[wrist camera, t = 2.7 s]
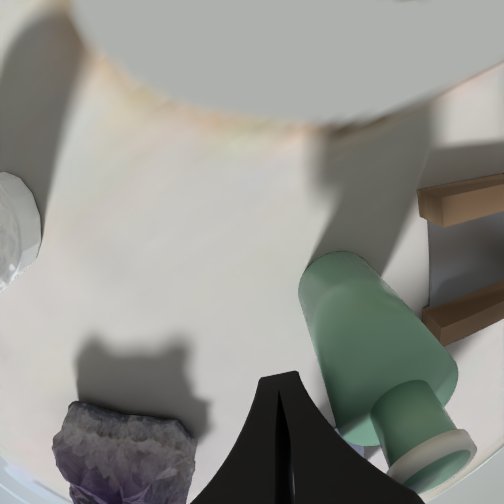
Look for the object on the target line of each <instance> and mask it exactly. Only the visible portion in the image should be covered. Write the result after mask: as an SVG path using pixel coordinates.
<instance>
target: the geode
mask: <svg viewBox="0 0 504 504" xmlns="http://www.w3.org/2000/svg"><path fill="white" fill-rule="evenodd" d="M196 447H197V441H196V439H195V438H194V437H193V436H191V435H189V434H188V432H187V431H186V429H185V427H184V426H183V424H182V423H181V422H180V421H179V420H172V419H159V418H156V417H149V416H137V415H125V414H120V413H118V412H115V411H111V410H106V409H103V408H101V407H98V406H96V405H93V404H91V403H86V402H81V401H74V402H72V403H71V404H70V405H69V407H68V413H67V415H66V417H65V419H64V422H63V425H62V430H61V431H60V432H58V433H57V434H56V435H55V436H54V438H53V446H52V450H53V453H54V456H55V459H56V466H57V467H58V468H59V470H60V472H61V474H62V476H63V477H64V479H65V480H66V481H68V482H70V486H71V487H70V488H69V490H70V497H71V498H72V500H73V503H74V504H186V500H187V496H188V491H189V488H190V485H191V481H192V476H193V473H194V471H195V460H194V458H195V453H196Z"/></svg>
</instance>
